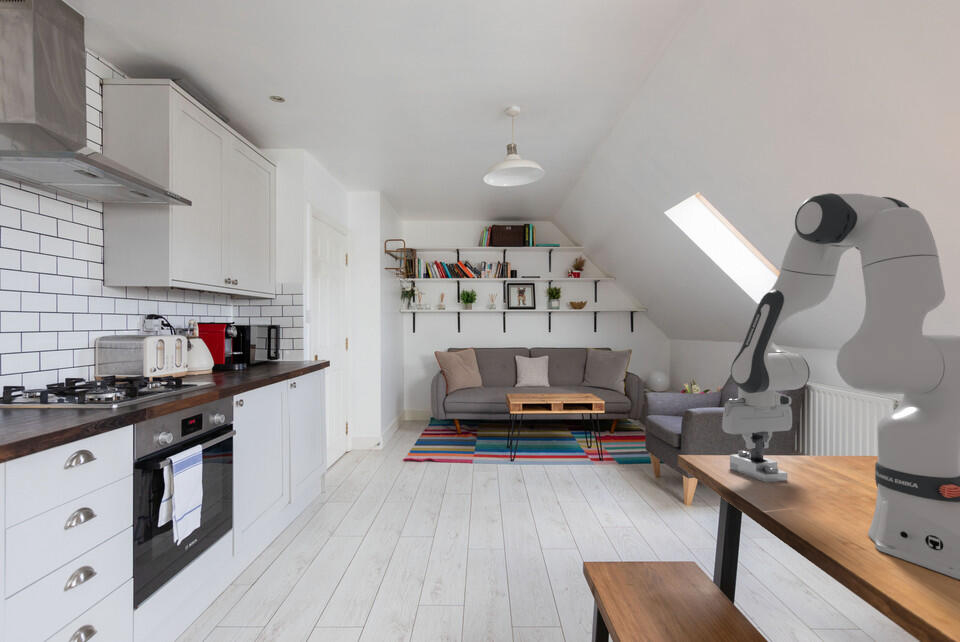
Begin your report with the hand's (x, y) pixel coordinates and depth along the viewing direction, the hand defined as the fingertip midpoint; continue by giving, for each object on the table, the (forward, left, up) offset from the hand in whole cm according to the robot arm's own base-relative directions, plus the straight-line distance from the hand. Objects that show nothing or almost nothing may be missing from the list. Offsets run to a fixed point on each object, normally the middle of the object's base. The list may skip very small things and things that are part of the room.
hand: (757, 448), depth 126 cm
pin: (0, 0, -5) cm, 5 cm away
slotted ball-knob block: (0, 0, -7) cm, 7 cm away
